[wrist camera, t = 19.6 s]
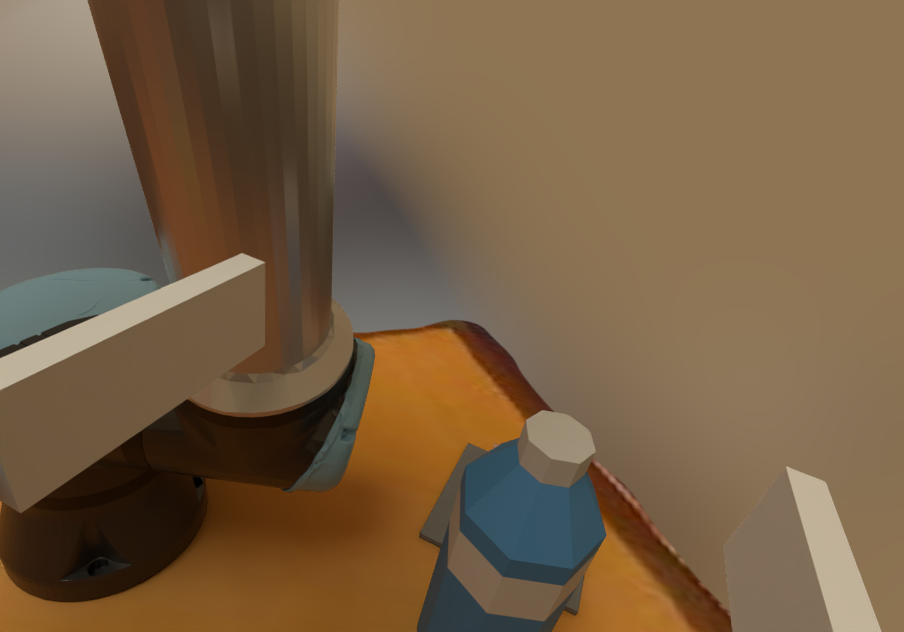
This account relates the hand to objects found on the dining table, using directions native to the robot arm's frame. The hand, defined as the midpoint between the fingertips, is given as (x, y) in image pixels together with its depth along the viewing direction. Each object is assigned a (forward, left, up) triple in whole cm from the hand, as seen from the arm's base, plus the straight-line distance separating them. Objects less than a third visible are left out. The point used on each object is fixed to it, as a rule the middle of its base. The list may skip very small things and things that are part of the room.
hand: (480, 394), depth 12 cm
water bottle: (+3, +13, -36) cm, 39 cm away
